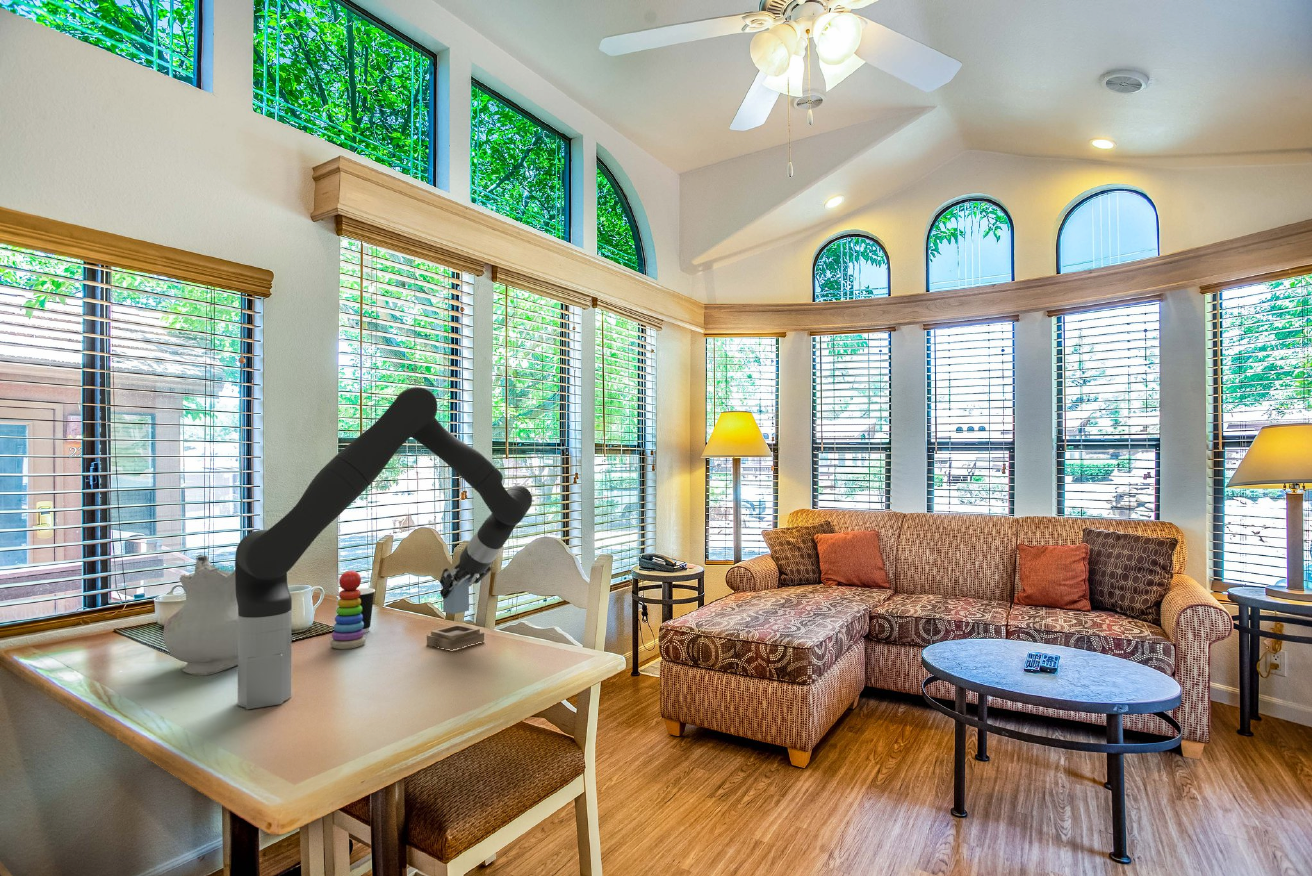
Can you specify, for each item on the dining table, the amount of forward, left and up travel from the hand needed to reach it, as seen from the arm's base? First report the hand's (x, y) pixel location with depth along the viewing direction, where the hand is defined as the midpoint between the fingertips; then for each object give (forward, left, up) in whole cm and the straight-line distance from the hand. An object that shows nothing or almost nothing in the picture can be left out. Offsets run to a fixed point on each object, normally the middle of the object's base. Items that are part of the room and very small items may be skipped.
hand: (451, 593), depth 177 cm
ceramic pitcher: (+8, +52, -13) cm, 54 cm away
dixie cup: (+24, +19, -13) cm, 33 cm away
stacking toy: (+10, +23, -13) cm, 28 cm away
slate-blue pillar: (-2, -1, -4) cm, 5 cm away
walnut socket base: (-2, -1, -12) cm, 13 cm away
